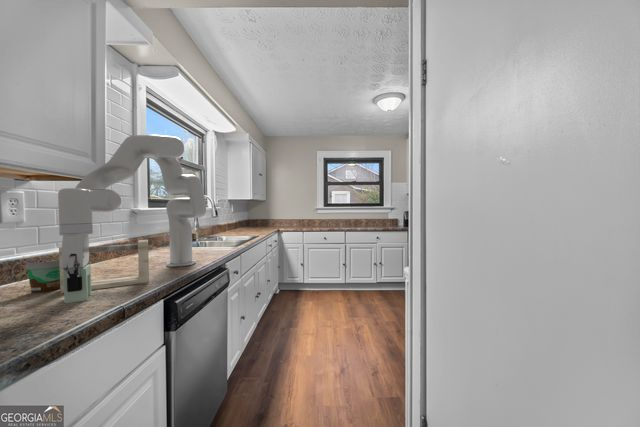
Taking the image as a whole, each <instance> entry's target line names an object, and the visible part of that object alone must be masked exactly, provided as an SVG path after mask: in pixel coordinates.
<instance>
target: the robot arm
mask: <svg viewBox="0 0 640 427" xmlns="http://www.w3.org/2000/svg"><path fill="white" fill-rule="evenodd" d="M184 152H185V144H184V142H183V141H182V140H181V138H179V137H177V136H171V135H161V134H135V135H129V136H127V137H126V138H125V139H124V140H123V142H122V143H121V144H120V145H119V146H118V148H117V149H116V151H115V152H114V154H113V155H112V156H111V158H110V159H109V160H108V161H107V162H106V163H104V164H102V165H100V166H99V167H97V168H95V169H94V170H93V171H91V172H89V173H87V174H86V175H85V176H84V177H83V178H82V179H80V181H79V182H78V183H77V185H76V186H75V188H74V187H73V188H72V187H71V188H69V187H68V188H67V187H66V188H61V189H59V190H58V193H57V201H58V202H57V203H58V204H57V205H58V207H57V208H58V229H59V230H58V231H59V232H58V234H59V236H61V237H62V241H61V246H62V259H61V268H62V269H63V270H65V269H67V268H68V272H67V291H68V292H74V291H81V290H82V277H80V275H81V268H83V267H84V266H85V265H88V264H89V262H90V253H89V247H90V242H89V239H90V238H89V235H93V233H94V232H93V228H94V227H93V213H110V212H114V211H116V210H117V209H119V208H120V206H121V204H122V197H121V195H120V194H119V193H118V192H116V191H114V190H112V189H109V187H110V186H111V187H112V186H113V185H115V184H118V183H121V182H123V181H124V182H125V181H126V180H128V179H131V178H132V177H134V175H136V172H137V171H138V169H139V168H140V167H141V165H142V163H143V162H144V160H145V159H149V158H150V159H153V161H154V162H156V163H157V165H158V167H159V170H160V173H161V176H162V180H163V185H164V189H165V191H166V193H167V194H168V195H170V196H175V198H171V199H169V200H168V201H167V203H166V205H165V206H166V214H167V218H168V224H169V225H168V226H169V227H168V228H169V229H168V230H169V234H168V235H169V261H167V262H166V267H186V266H192V265H195V264H196V263H197V260H196V259H193V227H192V224H191V221H190V220H189V219H198V218H203V216H206V213H207V204H206V199H205V193H204V188H203V184H202V181H201V179H200V178H199V177H198V176H196V175H195V174H184V172H183V168H182V164H181V162H180V161H179V159H178V158H180V157H182V155H183V154H184ZM107 188H108V189H107ZM176 196H180V197H176ZM182 196H184V197H182ZM185 196H187V197H185ZM75 266H76V267H75ZM77 270H78V273H77Z"/></svg>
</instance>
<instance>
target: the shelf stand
mask: <svg viewBox="0 0 640 427" xmlns="http://www.w3.org/2000/svg"><path fill="white" fill-rule="evenodd" d="M135 250H137V253H138V254H137V255H138V257H137V258H138V260H137V261H138V262H137V264H138V275H135V276H134V275H133V276H128V277H126V276H125V277H118V278H116V277H115V278H109V279H108V278H107V279H100V280H91V291H92V290H100V289H106V288H113V287H114V288H115V287H123V286H130V285H132V286H133V285H138V284H139V285H140V284H146V283H150V268H149V267H150V264H149V239H138V241H137V243H132V244H130V243H129V244H118V245H101V246H89V254H94V253H104V252H105V253H106V252H120V251H121V252H122V251H135ZM58 258H59V259H58V260H59V264H60V289H59V290H60V295H62V294H64V274H63V271H64V270H63V269H62V268H61V259H62V245H59V247H58Z"/></svg>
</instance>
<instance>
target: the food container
mask: <svg viewBox="0 0 640 427" xmlns="http://www.w3.org/2000/svg"><path fill="white" fill-rule="evenodd" d="M24 270H27V275H28V280H29V286H30V292H31V293H33V294H34V293H35V294H36V293H39V294H40V293H47V292H54V291H58V290H60V264H59V259H56V260H55V259H54V260H52V259H51V260H45V261H40V262H39V261H38V262H37V261H36V262H26V264H25V266H24Z"/></svg>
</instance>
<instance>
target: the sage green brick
mask: <svg viewBox="0 0 640 427" xmlns="http://www.w3.org/2000/svg"><path fill="white" fill-rule="evenodd" d="M75 267H76V266H75ZM91 268H92V266H91V264H89V263H88V264H87V265H85V266H84V267H83V268H81V275H80V277H82V290H81V291H74V292H68V291H67V272H68V268H67V269H65V270H64V271H63V274H64V293H63V297H64V304H70V303H79V302H86V301H88V300H89V296H91V295H92V290H91V281H92V269H91ZM77 273H78V270H77Z"/></svg>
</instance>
